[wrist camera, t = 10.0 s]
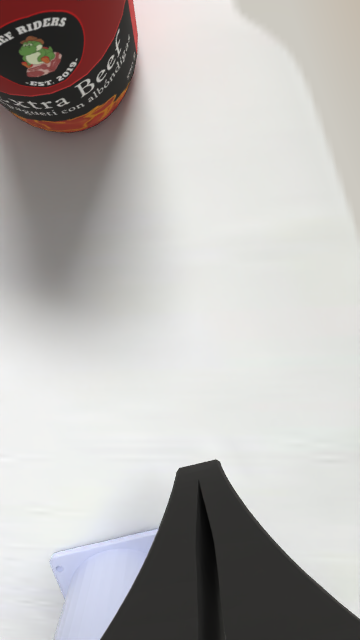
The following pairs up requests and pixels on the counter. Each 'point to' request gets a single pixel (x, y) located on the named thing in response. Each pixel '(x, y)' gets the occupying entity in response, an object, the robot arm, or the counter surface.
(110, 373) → the counter surface
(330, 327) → the counter surface
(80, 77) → the canned food
